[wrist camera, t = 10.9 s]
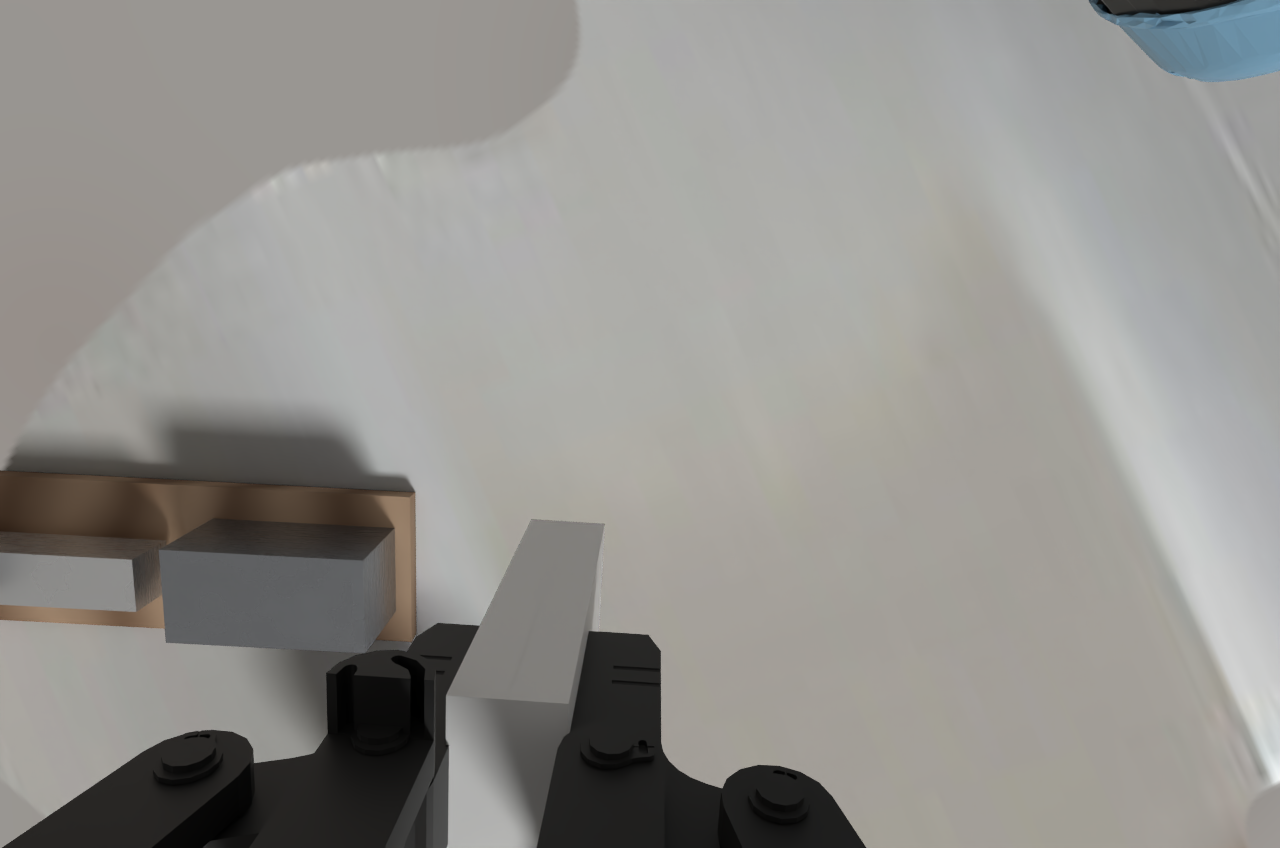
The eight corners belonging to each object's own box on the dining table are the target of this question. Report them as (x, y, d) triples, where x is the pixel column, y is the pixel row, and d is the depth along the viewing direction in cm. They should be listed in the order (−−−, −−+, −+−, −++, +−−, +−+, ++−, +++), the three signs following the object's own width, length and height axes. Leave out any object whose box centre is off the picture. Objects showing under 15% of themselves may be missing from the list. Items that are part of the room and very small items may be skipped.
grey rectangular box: (394, 528, 46) (362, 560, 41) (396, 611, 47) (365, 653, 42) (212, 518, 46) (158, 549, 41) (218, 601, 47) (165, 642, 42)
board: (415, 492, 46) (410, 497, 45) (416, 634, 48) (411, 641, 47) (-143, 463, 46) (-160, 467, 45) (-121, 605, 48) (-137, 612, 47)
